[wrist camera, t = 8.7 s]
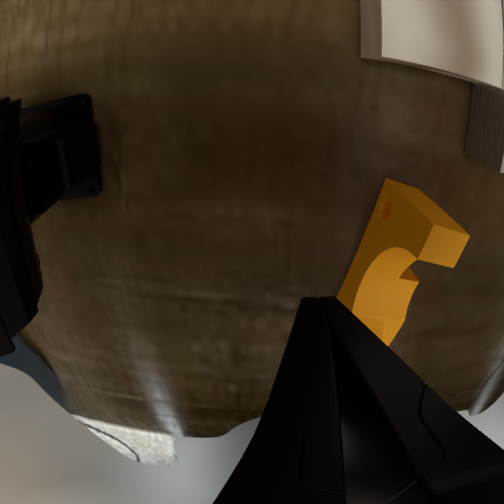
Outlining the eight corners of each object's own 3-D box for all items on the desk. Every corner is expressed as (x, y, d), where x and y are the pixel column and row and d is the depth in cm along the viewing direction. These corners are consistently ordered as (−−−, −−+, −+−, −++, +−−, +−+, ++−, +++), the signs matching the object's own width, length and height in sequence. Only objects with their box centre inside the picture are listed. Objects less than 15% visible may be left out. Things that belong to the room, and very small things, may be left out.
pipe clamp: (371, 326, 25) (393, 388, 20) (324, 320, 25) (340, 387, 19) (436, 194, 19) (490, 242, 14) (384, 177, 19) (433, 224, 13)
